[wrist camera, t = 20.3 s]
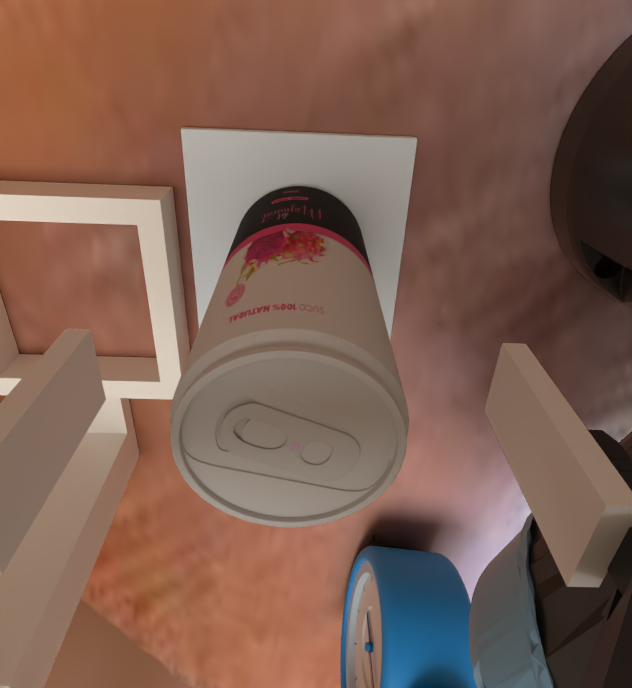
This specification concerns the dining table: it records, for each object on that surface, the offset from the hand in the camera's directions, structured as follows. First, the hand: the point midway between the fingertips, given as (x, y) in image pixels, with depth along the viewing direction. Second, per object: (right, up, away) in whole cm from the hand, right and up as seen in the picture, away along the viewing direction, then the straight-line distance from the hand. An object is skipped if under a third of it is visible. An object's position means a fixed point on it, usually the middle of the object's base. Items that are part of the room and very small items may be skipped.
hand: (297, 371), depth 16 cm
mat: (0, +6, +10) cm, 12 cm away
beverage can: (0, +6, +10) cm, 12 cm away
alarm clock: (+7, -17, +24) cm, 31 cm away
